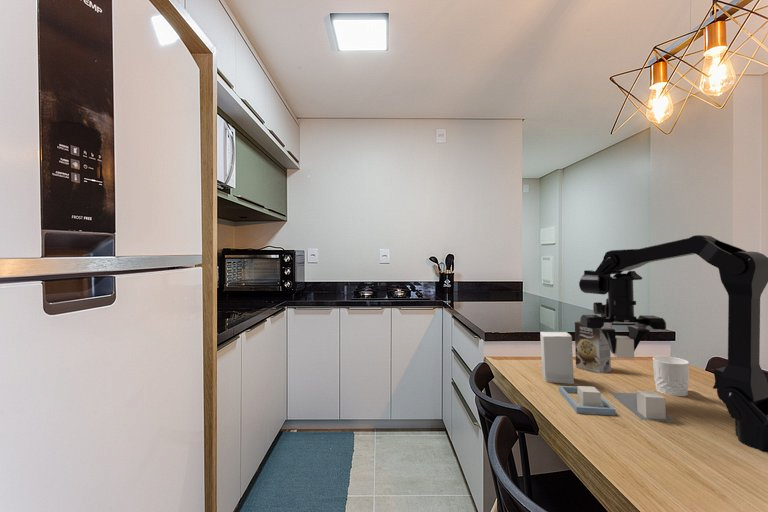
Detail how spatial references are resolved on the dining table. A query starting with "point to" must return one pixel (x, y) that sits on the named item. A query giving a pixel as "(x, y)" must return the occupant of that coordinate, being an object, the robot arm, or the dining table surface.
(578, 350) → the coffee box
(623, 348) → the stone
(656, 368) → the white cup
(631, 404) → the slate board
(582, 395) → the stone
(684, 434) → the dining table surface
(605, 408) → the blue bin
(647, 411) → the stone
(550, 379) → the skincare box
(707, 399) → the dining table surface
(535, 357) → the dining table surface
